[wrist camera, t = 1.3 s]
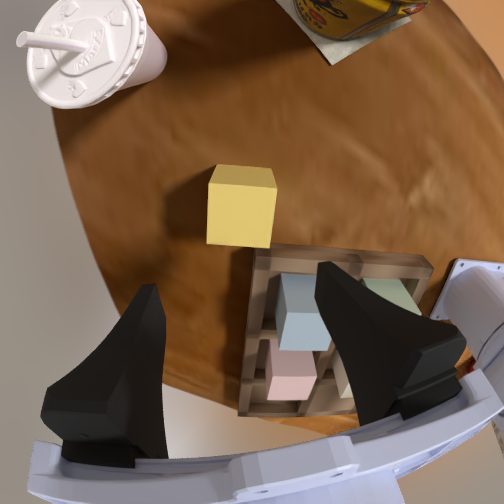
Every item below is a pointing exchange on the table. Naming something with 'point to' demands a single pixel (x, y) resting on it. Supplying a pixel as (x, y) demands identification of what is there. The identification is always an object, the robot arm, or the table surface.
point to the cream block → (341, 377)
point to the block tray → (325, 387)
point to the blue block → (299, 315)
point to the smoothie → (91, 51)
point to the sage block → (392, 292)
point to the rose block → (288, 373)
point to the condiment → (349, 21)
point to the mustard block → (241, 206)
